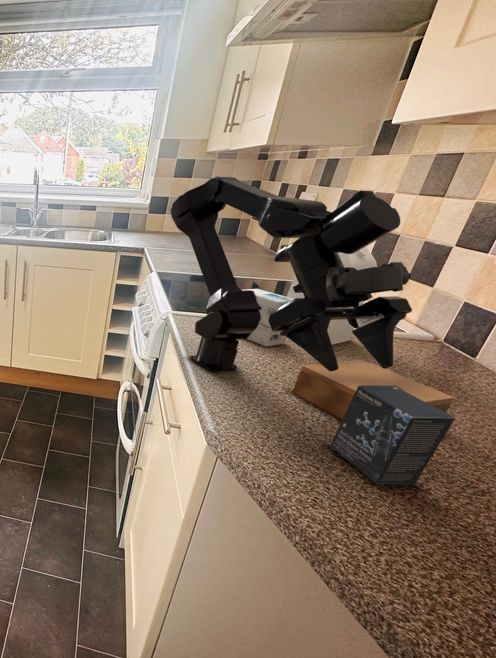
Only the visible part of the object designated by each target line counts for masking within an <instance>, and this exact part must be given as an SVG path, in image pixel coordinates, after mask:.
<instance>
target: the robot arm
mask: <svg viewBox="0 0 496 658" xmlns="http://www.w3.org/2000/svg"><path fill="white" fill-rule="evenodd" d="M226 206H229V207H232V208H234V209H236V210H238V211H240V212H242V213H244V214H246V215H248V216H251V217H253V218H255V220H256V221H257V223H258V226H259V228H261V229H262V230H263V231H264V232H265V233H267V234H268V235H269V236H271V237H272V238H276V239H296V240H295V241H293V242H291V243H290V244H282V245H280V249H279V251H278V252H277V253H276V254H275V257H274V259H273V261H274V262H275V263H289V264H290V266H291V268H292V270H293V271H292V272H293V273H294V277H295V276H296V278H297V281H298V283H299V284H297V285H296V286H294V287H293V289H294V292H295V293H303V295H304V298H295V299H293V300H292V301H290V302H288V303H286V304H285V305H283V306H281V307H279V308H277V309H276V310H274V311H272V312H271V313H270V316H269V319H268V321H269V324H270V327H271V329H272V331H282V332H280V334H281V336H286V337H287V339H289V341H291V342H293V343H294V344H295V345H297V346H298V347H300V349H302V350H303V351H305V353H307V354H308V355H310V357H312V358H313V359H314V360H316V361H317V363H318V364H321V365H323V366H324V367H325V368H326V369H327V370H328V371H335V370H338V363H337V362H338V359H337V356H336V353H335V350H334V347H333V345H332V344H331V341H330V338H329V335H328V331H327V330H328V326H329V323H330V320H341V319H347V320H348V322H349V324H350V325H351V326H353V327H354V330H352V334H353V335H354V337H356V339H357V340H358V341H359V342H360V344H361V345H362V346H363V347H364V348H365V350H366V351H367V352H368V353H369V355H371V357H372V358H373V360H375V362H377V364H378V365H379V366H380V367H381V368H383V369H388V368H392V367H394V334H395V328H396V327H397V325H398V324H399V323H400V321H402V320H405V319H406V318H407V314H410V313H412V311H413V309H412V307H411V304H410V303H409V300H408V299H407V298H404V297H401V296H398V295H397V296H394V295H393V296H390V295H389V296H377V297H375V298H373V295H372V294H378V293H385V292H395V293H396V292H402V291H404V285H405V286H406V285H407V283H408V282H409V281H410V279H411V278H412V273H410V272H409V271H408V269H407V266H405V265H404V264H403V262H402V261H398V262H397V261H391V262H389V263H382V264H381V263H380V264H379V265H378V266H377V267H371V268H366V269H361V270H357V269H355V268H353V267H344V265H343V263H342V260H341V258H340V256H339V254H338V253H340V252H342V253H345V254H353V253H355V252H357V251H359V250H361V249H362V248H364V247H366V248H367V247H368V246H369V245H371V244H372V243H374V242H376V241H378V240H380V239H381V238H383V237H384V236H387V235H388V234H390V233H392V232H393V231H395V230H396V229H398V228H399V227H400V225H401V215H400V214H399V212H398V210H397V209H396V208H395V207H392V206H391V205H390V204H389V203H388V202H387V201H385V200H384V199H382V198H381V197H378V196H376V194H375V192H374V191H373V190H363V189H362V190H361V189H359V190H358V191H357V192H355V193H354V194H353V195H352V196H351V197H349V199H348V200H346V201H345V202H343V203H342V204H341V205H340V206H338V207H336V208H335V209H334V210H332V211H330V210H328V207H327V205H326V204H325V203H323V202H322V201H318V200H311V199H303V198H294V197H284V196H279V195H278V194H275V193H271V192H269V191H266V190H263V189H261V188H259V187H256V186H255V185H254V186H253V185H251V184H248V183H246V182H243V181H241V180H239V179H238V178H236V177H233V176H214V177H211V178H209V179H208V180H207V181H206V182H204V183H203V184H201V185H198V186H196V187H194V188H192V189H188V190H187V191H185V192H184V193H183V194H181V195H179V196H178V197H176V199H175V200H174V201H173V202H172V204H171V207H170V215H171V216H170V217H171V219H172V221H173V223H174V224H175V226H176V228H177V229H178V230H179V231H180V232H182V233H183V234H184V235H185V236H186V237H188V239H189V241H190V243H191V247H192V249H193V251H194V255H195V258H196V261H197V264H198V266H199V269H200V272H201V275H202V278H203V280H204V283H205V285H206V289H207V291H208V294H209V299H208V300H207V301H208V302H207V304H206V308H205V311H206V315H205V316H202V318H200V319H199V320H197V321H196V322H195V324H194V333H195V334H197V335H198V336H200V341H199V344H198V349H197V351H196V354H195V355H189V359H190V360H192V361H193V362H195V363H196V364H198V365H200V366H201V367H203V368H204V369H206V370H208V371H210V372H220V371H230V370H237V369H238V366H237V365H235V360H236V357H237V354H238V346H239V343H240V340H249V339H248V337H249V336H250V335H251V333H252V332H253V331H254V330H255V329H256V328H257V326H258V324H259V321H261V315H260V311H259V310H261V309H262V308H261V307H260V306H259V304H258V303H257V300H256V295H255V293H254V292H253V291H252V290H248V289H245V290H246V291H242V290H243V289H242V288H241V287H239V286H238V284H237V281H236V279H235V276H234V273H233V271H232V269H231V266H230V263H229V261H228V258H227V256H226V253H225V250H224V248H223V246H222V242H221V240H220V237H219V235H218V232H217V229H216V224H217V221H218V219H219V212H221V211H222V210H223V211H224V209H225V208H226ZM368 300H369V301H368ZM361 301H364V303H363V304H362V305H360V306H358V305H359V302H361ZM344 312H345V313H344Z"/></svg>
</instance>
